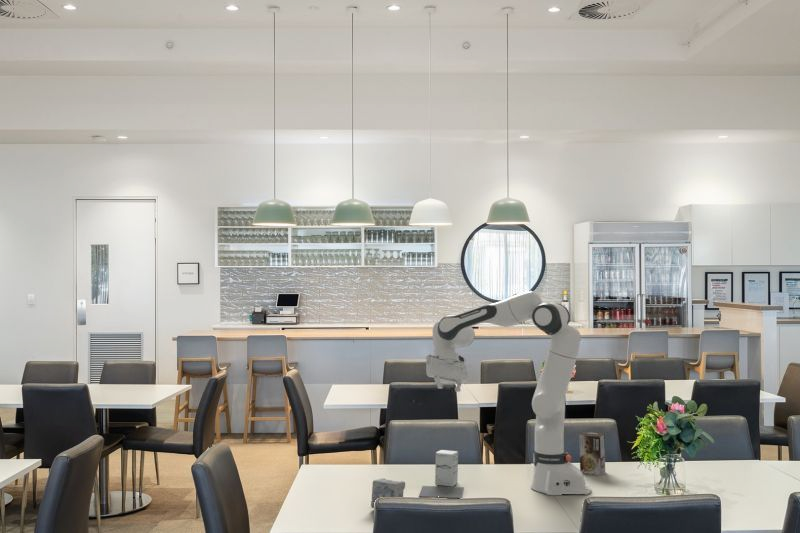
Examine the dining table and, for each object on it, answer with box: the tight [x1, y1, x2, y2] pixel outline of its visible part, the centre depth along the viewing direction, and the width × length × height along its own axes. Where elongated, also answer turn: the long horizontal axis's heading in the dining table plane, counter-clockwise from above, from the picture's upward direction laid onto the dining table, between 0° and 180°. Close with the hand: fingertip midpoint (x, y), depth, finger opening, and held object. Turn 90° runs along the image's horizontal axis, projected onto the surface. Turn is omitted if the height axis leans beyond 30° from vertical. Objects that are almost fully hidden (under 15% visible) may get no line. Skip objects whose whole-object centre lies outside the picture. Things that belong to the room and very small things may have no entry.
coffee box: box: [578, 431, 606, 476], centre depth 295 cm, size 9×6×16 cm
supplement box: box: [434, 449, 459, 487], centre depth 280 cm, size 7×7×13 cm
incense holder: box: [370, 477, 406, 509], centre depth 250 cm, size 10×8×10 cm
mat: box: [418, 485, 464, 499], centre depth 269 cm, size 16×13×1 cm
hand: (449, 389), depth 288 cm, fingers open, 8 cm apart
